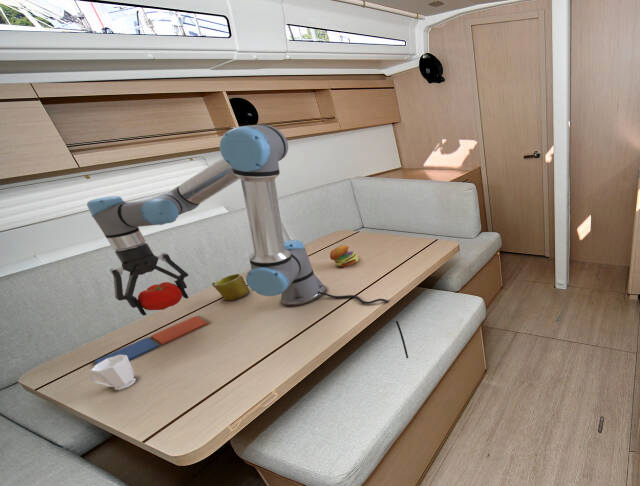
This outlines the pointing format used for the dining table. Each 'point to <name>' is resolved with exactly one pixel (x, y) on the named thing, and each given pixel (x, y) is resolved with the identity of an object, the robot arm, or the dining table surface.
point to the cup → (114, 372)
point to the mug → (231, 287)
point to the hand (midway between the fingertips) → (165, 305)
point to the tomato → (160, 296)
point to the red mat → (179, 330)
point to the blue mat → (133, 350)
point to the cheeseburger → (343, 256)
